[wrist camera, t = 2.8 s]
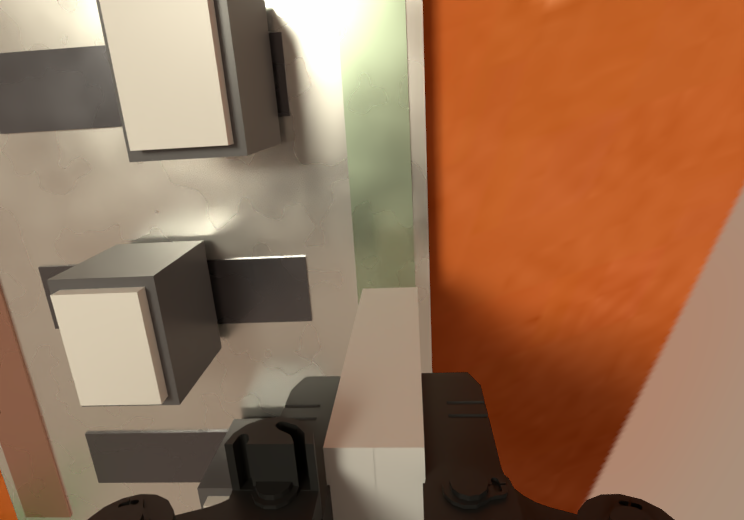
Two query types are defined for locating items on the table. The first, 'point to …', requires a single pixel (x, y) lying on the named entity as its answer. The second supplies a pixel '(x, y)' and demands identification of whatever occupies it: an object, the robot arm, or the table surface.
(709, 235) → the table surface
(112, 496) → the panel
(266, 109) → the block
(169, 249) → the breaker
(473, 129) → the table surface
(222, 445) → the breaker
